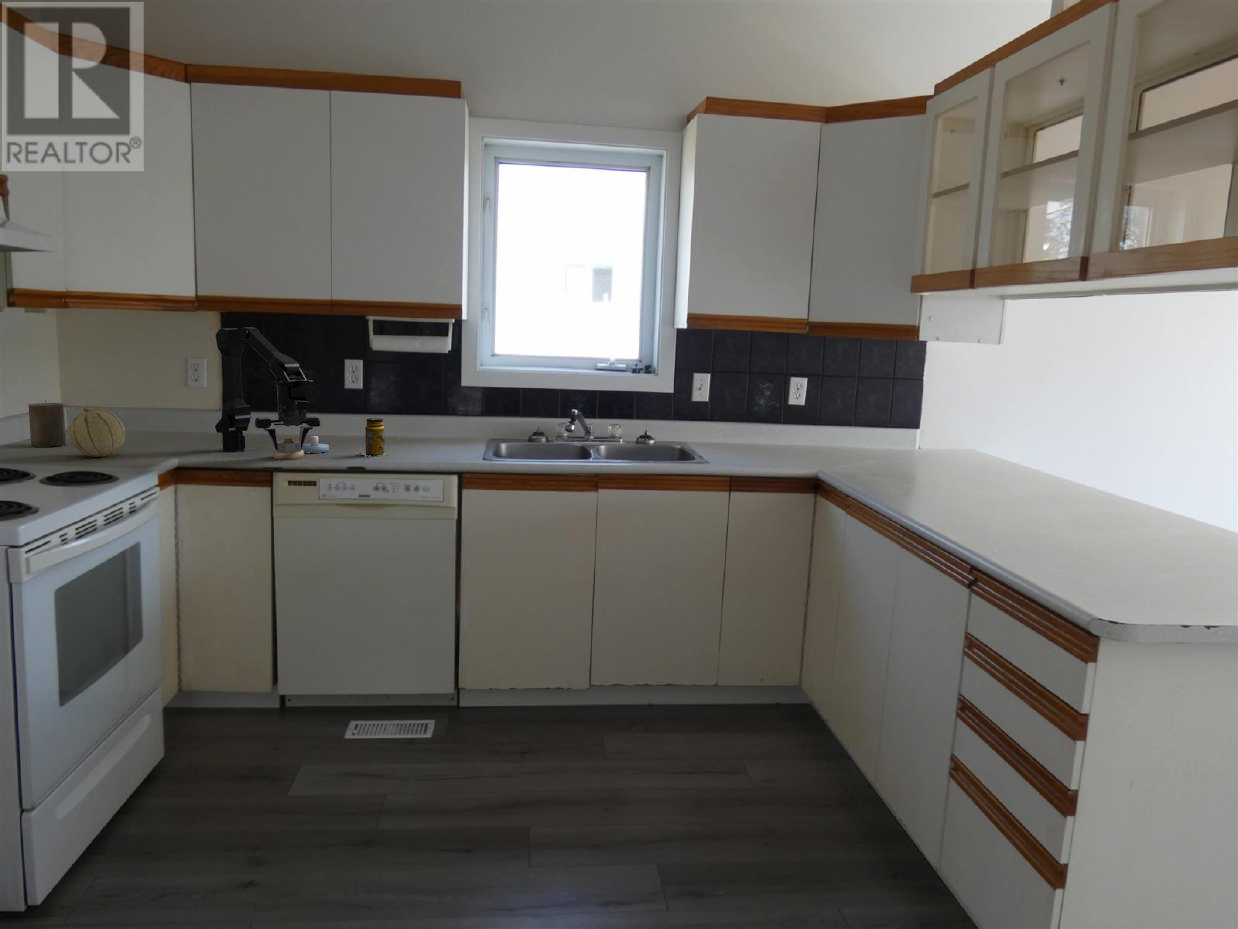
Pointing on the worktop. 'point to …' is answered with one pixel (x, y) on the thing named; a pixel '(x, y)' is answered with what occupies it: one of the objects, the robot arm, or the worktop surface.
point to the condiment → (374, 437)
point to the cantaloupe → (97, 433)
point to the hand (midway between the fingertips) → (288, 449)
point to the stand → (288, 455)
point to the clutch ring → (288, 447)
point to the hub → (315, 446)
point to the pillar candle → (47, 424)
